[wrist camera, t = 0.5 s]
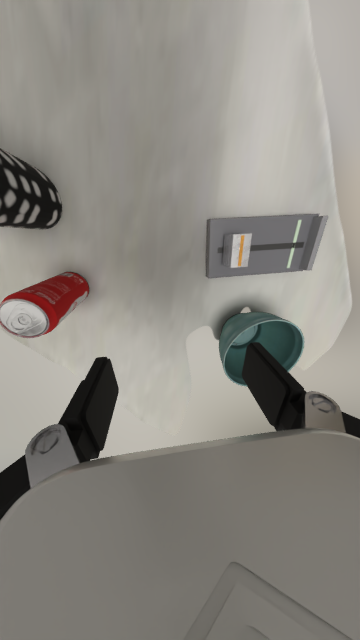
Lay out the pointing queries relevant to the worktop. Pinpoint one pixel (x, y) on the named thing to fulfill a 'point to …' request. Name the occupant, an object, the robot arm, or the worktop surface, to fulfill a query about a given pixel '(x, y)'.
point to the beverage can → (42, 305)
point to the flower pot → (262, 328)
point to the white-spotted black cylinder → (26, 195)
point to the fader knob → (236, 250)
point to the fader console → (266, 243)
